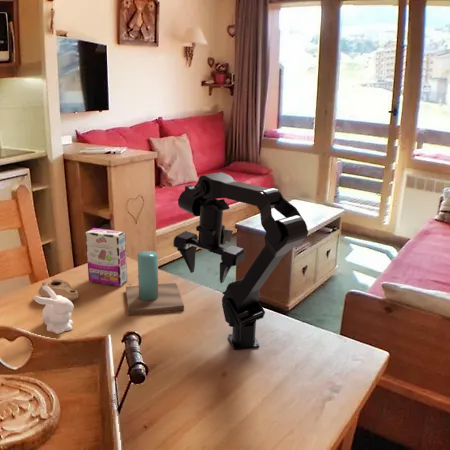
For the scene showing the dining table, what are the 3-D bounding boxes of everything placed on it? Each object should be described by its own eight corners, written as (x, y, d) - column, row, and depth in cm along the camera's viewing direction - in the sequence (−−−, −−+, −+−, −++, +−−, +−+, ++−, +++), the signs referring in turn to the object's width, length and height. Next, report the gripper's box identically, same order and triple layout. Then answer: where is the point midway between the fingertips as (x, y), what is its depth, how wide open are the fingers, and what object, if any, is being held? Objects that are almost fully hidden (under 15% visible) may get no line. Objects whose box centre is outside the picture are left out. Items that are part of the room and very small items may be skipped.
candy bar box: (128, 280, 160) (126, 231, 155) (120, 287, 156) (118, 236, 151) (96, 275, 164) (93, 226, 158) (87, 282, 159) (84, 231, 154)
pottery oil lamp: (67, 310, 141) (52, 290, 138) (44, 310, 149) (30, 291, 146) (88, 288, 147) (74, 269, 144) (65, 290, 155) (51, 271, 152)
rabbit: (78, 333, 130) (75, 290, 127) (39, 341, 126) (34, 297, 123) (69, 312, 141) (66, 272, 137) (33, 319, 137) (28, 278, 133)
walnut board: (183, 310, 143) (183, 305, 143) (129, 315, 140) (128, 310, 139) (175, 287, 157) (175, 282, 156) (126, 291, 154) (125, 286, 153)
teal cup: (153, 302, 144) (152, 259, 140) (135, 299, 145) (134, 256, 141) (161, 294, 149) (161, 252, 145) (144, 291, 150) (143, 249, 146)
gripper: (258, 222, 131) (252, 276, 137) (197, 205, 140) (194, 256, 145) (237, 235, 122) (231, 293, 128) (173, 216, 131) (170, 271, 136)
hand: (206, 277), depth 135 cm, fingers open, 9 cm apart
